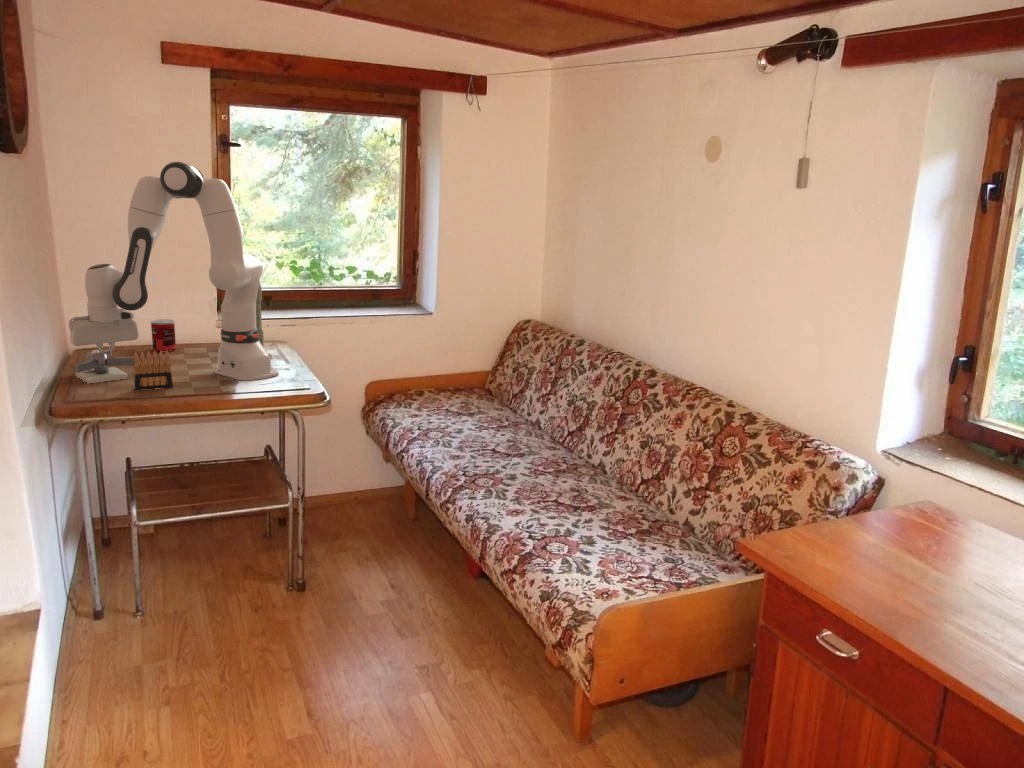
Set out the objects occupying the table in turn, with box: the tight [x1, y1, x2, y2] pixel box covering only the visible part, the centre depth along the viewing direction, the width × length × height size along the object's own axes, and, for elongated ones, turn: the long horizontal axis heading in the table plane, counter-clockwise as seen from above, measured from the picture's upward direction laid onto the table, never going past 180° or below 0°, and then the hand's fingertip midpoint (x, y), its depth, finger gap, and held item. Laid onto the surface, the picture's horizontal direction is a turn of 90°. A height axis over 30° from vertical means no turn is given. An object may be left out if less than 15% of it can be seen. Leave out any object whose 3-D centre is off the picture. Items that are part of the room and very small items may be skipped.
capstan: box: [73, 348, 134, 374], centre depth 261 cm, size 16×18×7 cm
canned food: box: [150, 318, 177, 352], centre depth 300 cm, size 8×8×11 cm
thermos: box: [249, 253, 265, 347], centre depth 309 cm, size 9×12×35 cm
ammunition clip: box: [133, 350, 174, 391], centre depth 249 cm, size 11×2×12 cm, turn 118°
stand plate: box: [74, 366, 129, 384], centre depth 260 cm, size 12×12×2 cm
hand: (106, 356), depth 267 cm, fingers closed
